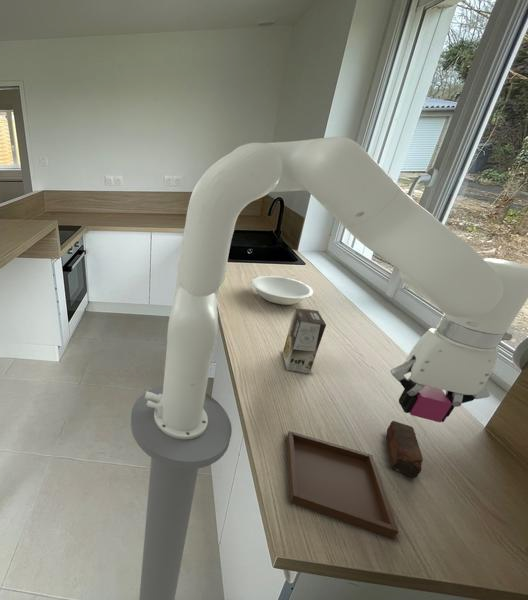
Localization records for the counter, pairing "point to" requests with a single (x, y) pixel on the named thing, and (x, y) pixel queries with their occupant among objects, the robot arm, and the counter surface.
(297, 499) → the tray
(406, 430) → the brick
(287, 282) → the soup bowl
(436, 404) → the mulberry cube
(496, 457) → the counter surface
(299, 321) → the coffee box
